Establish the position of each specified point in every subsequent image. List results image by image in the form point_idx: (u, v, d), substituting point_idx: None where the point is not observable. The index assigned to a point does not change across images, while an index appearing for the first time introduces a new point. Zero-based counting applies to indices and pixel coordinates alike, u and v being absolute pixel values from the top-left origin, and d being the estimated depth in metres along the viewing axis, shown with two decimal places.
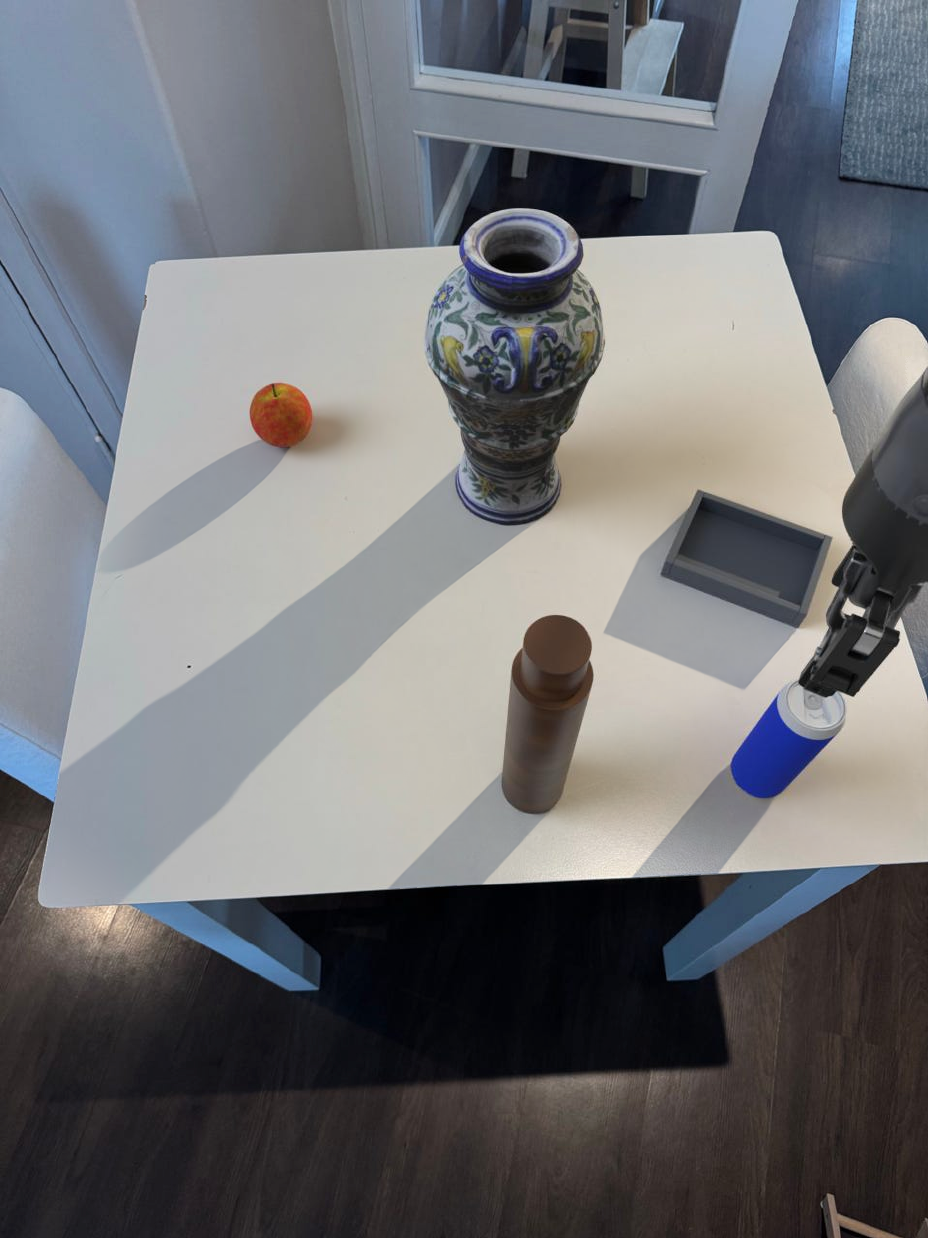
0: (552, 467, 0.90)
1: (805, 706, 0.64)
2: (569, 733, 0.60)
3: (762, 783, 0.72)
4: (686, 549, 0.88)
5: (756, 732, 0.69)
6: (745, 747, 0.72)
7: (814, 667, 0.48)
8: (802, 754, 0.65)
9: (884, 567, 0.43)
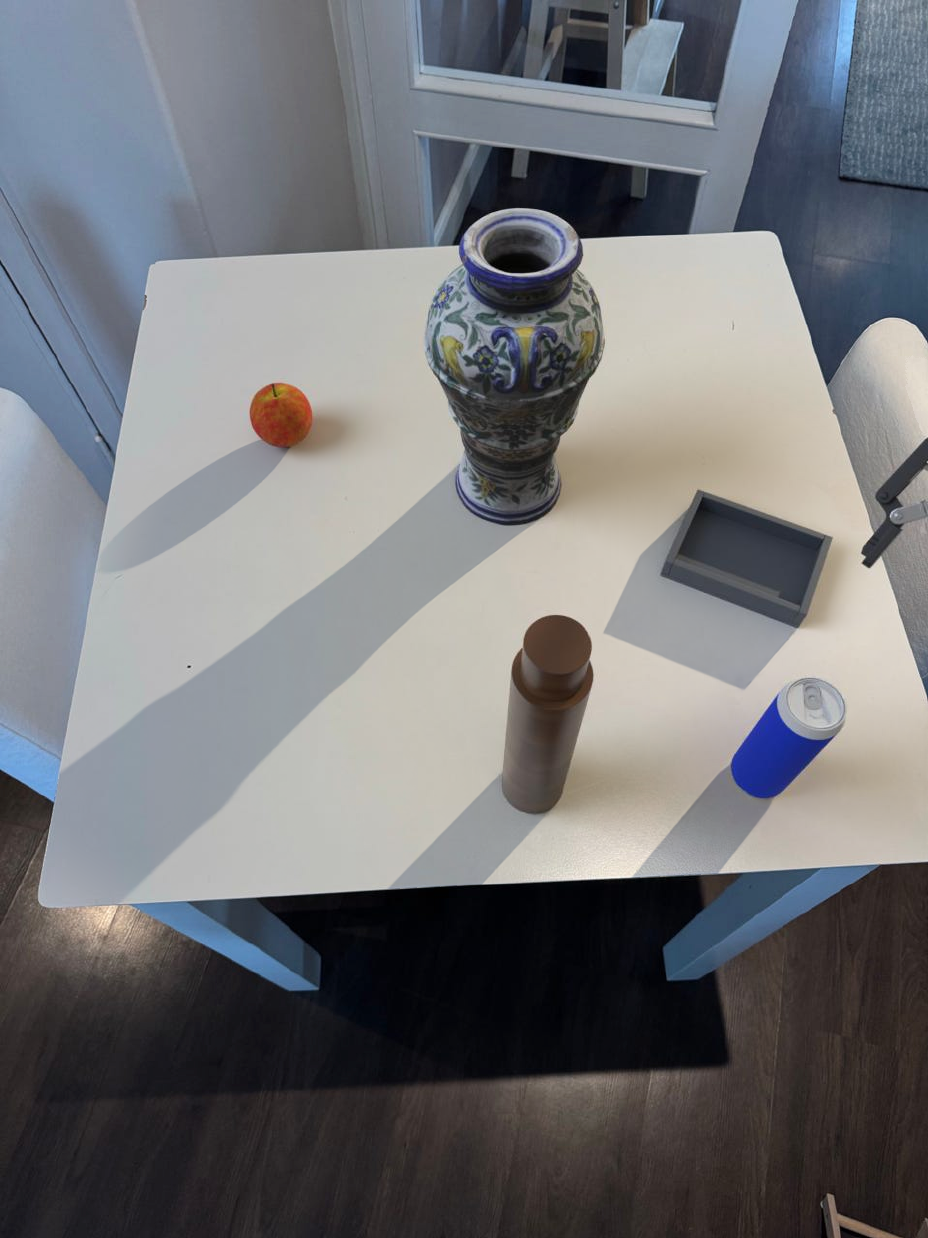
0: (552, 467, 0.90)
1: (805, 706, 0.64)
2: (569, 733, 0.60)
3: (762, 783, 0.72)
4: (686, 549, 0.88)
5: (756, 732, 0.69)
6: (745, 747, 0.72)
7: None
8: (802, 754, 0.65)
9: None
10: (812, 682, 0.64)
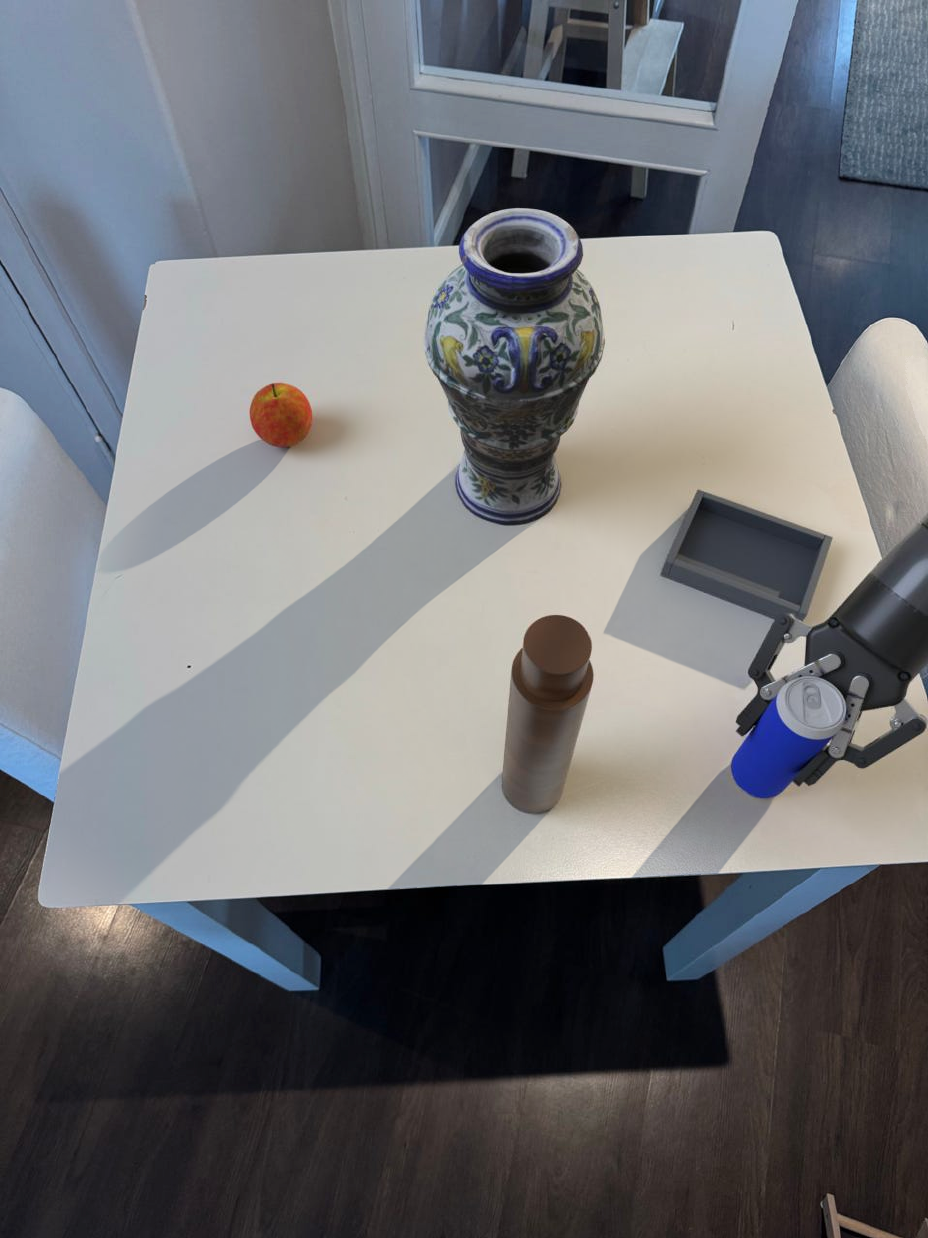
0: (552, 467, 0.90)
1: (805, 705, 0.64)
2: (569, 733, 0.60)
3: (762, 783, 0.72)
4: (686, 549, 0.88)
5: (756, 732, 0.69)
6: (745, 747, 0.72)
7: None
8: (802, 753, 0.65)
9: None
10: (811, 682, 0.64)
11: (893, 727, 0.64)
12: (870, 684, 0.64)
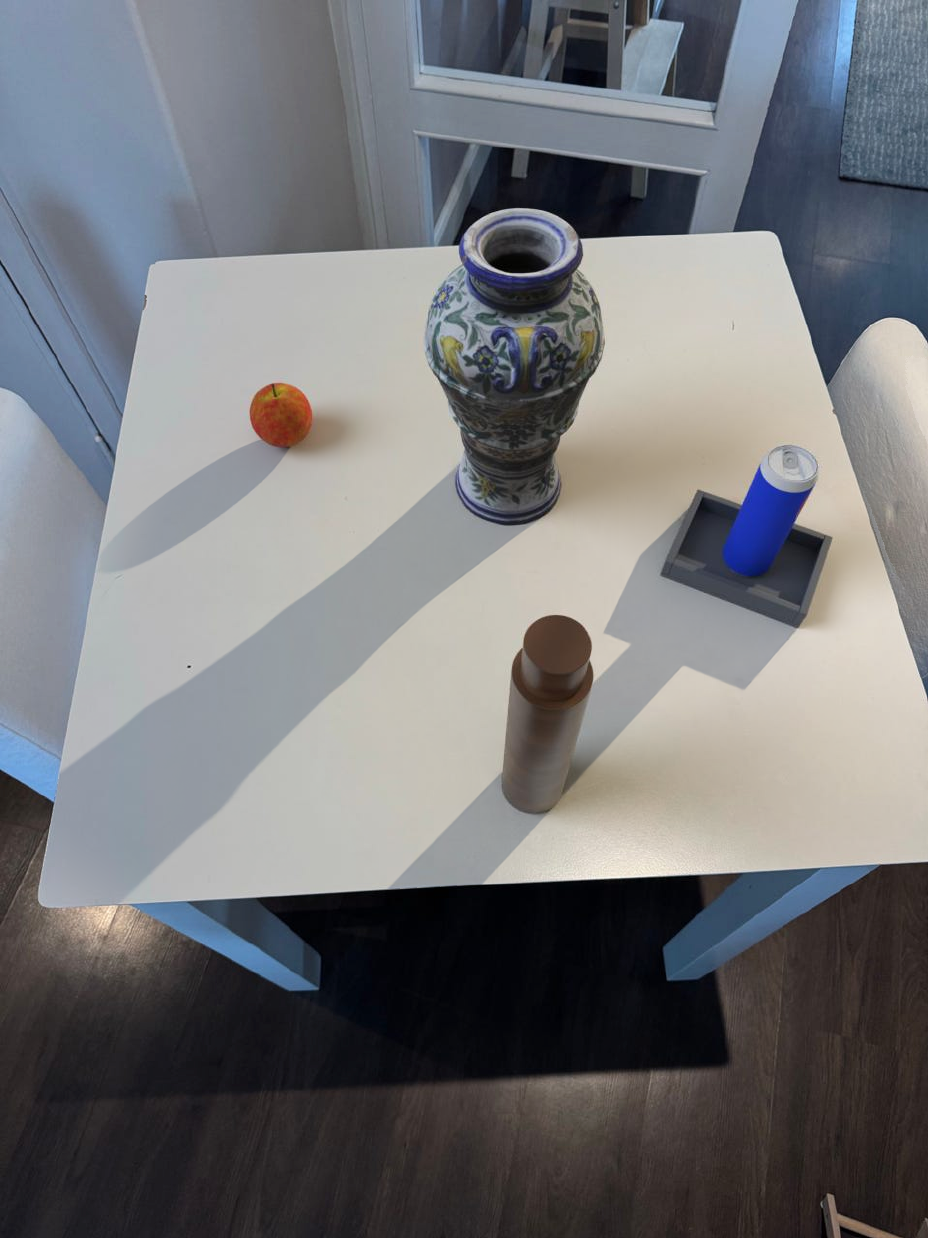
0: (552, 467, 0.90)
1: (784, 466, 0.75)
2: (569, 733, 0.60)
3: (749, 556, 0.83)
4: (686, 549, 0.88)
5: (743, 505, 0.81)
6: (734, 525, 0.83)
7: None
8: (782, 512, 0.77)
9: None
10: (790, 449, 0.76)
11: None
12: None
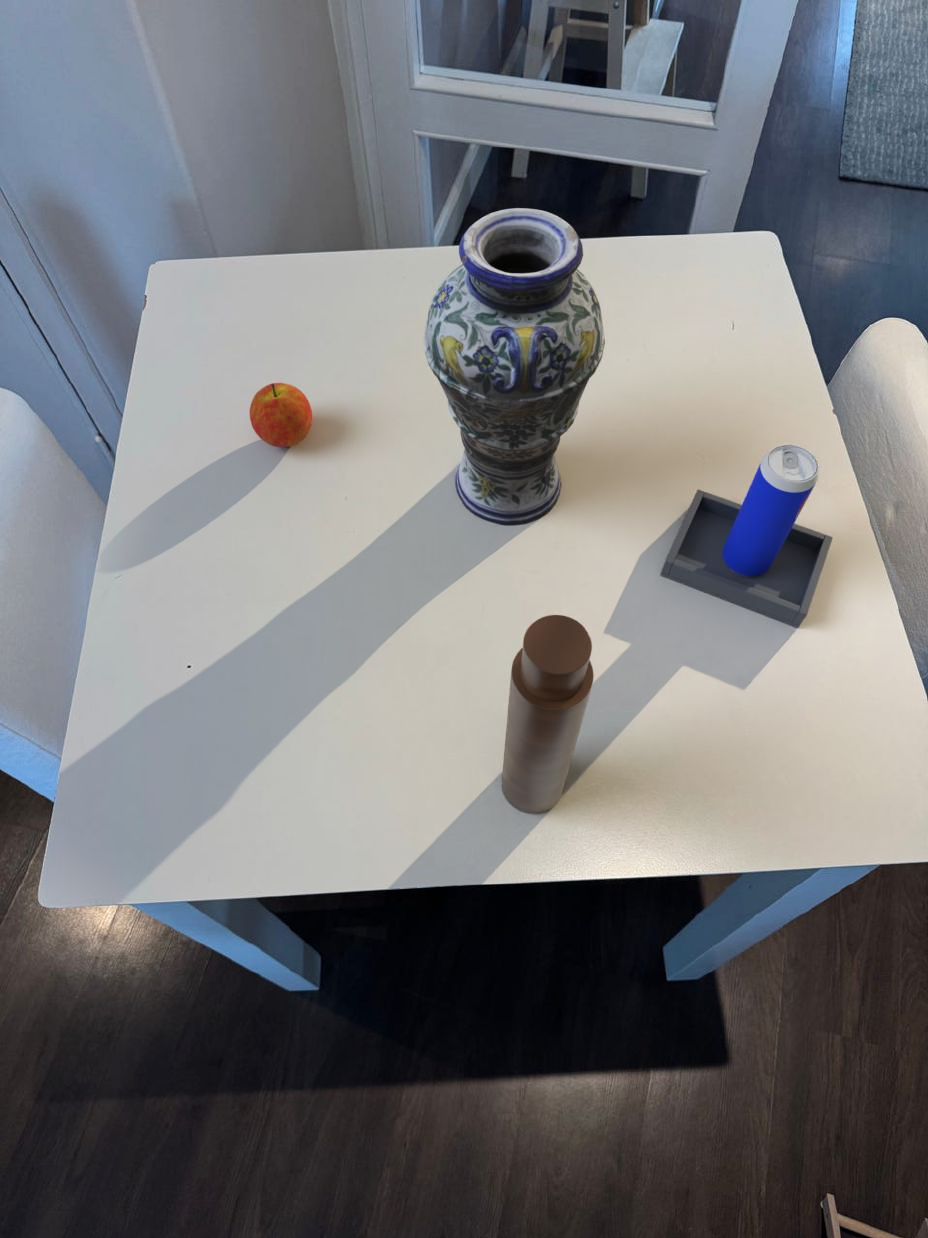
0: (552, 467, 0.90)
1: (784, 466, 0.75)
2: (569, 733, 0.60)
3: (749, 556, 0.83)
4: (686, 549, 0.88)
5: (743, 505, 0.81)
6: (734, 525, 0.83)
7: None
8: (782, 512, 0.77)
9: None
10: (790, 449, 0.76)
11: None
12: None
